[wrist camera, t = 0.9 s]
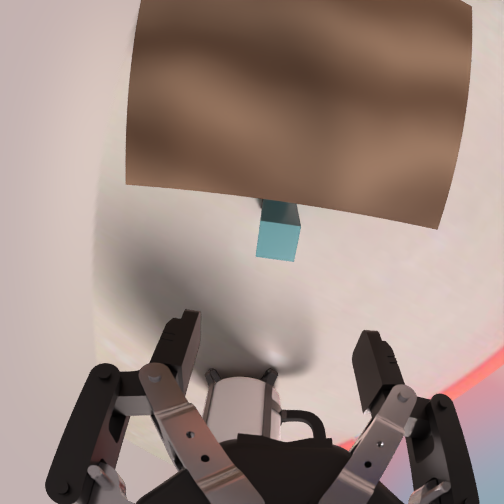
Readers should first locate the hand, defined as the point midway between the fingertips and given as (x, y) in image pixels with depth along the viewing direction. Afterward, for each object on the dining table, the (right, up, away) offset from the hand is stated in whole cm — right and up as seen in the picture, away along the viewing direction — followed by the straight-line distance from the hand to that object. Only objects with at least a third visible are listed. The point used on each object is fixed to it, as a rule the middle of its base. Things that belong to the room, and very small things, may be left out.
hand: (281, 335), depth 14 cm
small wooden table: (+3, +20, +12) cm, 24 cm away
